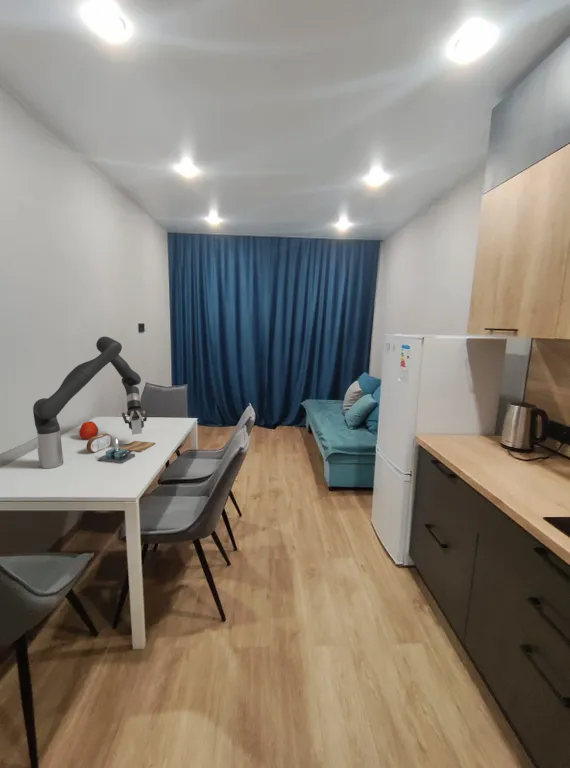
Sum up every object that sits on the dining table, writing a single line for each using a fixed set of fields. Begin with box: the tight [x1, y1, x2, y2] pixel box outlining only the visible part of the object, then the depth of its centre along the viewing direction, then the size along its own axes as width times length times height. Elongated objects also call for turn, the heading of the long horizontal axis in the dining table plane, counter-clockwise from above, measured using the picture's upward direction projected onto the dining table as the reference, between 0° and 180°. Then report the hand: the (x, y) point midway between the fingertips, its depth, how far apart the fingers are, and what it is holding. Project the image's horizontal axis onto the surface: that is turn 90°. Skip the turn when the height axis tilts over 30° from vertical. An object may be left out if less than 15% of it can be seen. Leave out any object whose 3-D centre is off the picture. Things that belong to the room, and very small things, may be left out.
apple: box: [78, 420, 99, 440], centre depth 213 cm, size 10×10×10 cm
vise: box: [97, 437, 136, 464], centre depth 180 cm, size 14×10×11 cm
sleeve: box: [131, 418, 143, 436], centre depth 196 cm, size 5×5×8 cm
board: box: [119, 440, 156, 453], centre depth 198 cm, size 14×14×1 cm
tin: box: [86, 432, 113, 453], centre depth 193 cm, size 15×3×8 cm, turn 160°
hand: (136, 428), depth 195 cm, fingers closed on sleeve, 5 cm apart
